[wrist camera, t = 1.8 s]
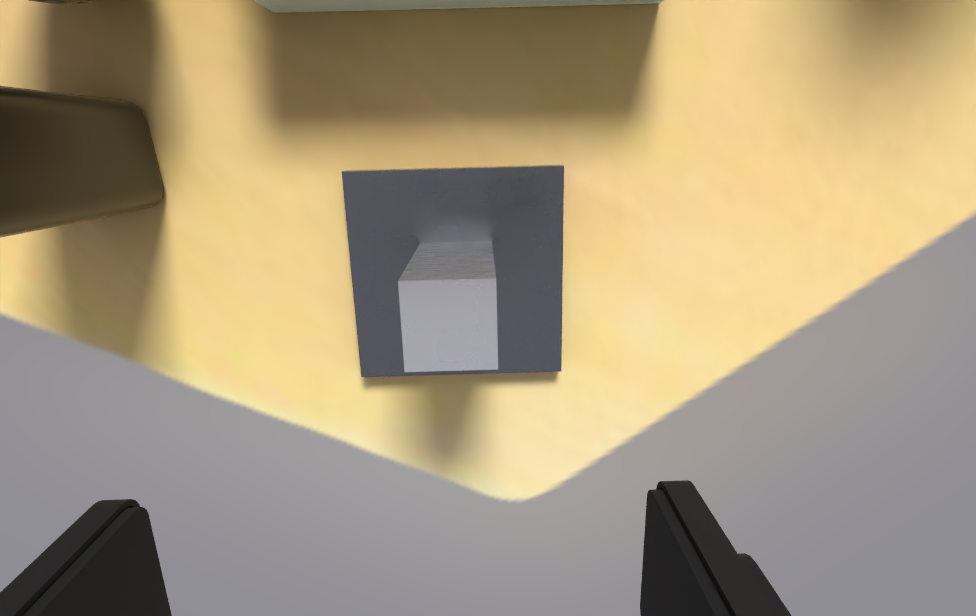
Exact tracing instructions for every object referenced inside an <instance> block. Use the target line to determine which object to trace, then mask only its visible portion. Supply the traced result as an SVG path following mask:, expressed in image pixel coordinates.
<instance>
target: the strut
mask: <svg viewBox="0 0 976 616" xmlns="http://www.w3.org/2000/svg"><path fill="white" fill-rule="evenodd" d="M398 289H399V303H400V316H401V330H402V344H403V358H404V372H428V371H463V370H498V337H497V289H496V272H495V264H494V256H493V248H492V241H476V242H439V243H420V244H419V246H418V248H417V250H416V251H415V253H414V255H413V256H412V258H411V260H410V261H409V263H408V265H407V267H406V268H405V270H404V272H403V273H402V275H401V277H400V278H399V280H398Z"/></svg>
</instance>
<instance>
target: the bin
mask: <svg viewBox="0 0 976 616" xmlns="http://www.w3.org/2000/svg"><path fill="white" fill-rule="evenodd" d="M253 1H255V2H256V3H258V4H260V5H261V6H263V7H264V8H266V9H268V10H269V11H271V12H272V13H285V12H327V11H368V10H409V9H451V8H492V7H533V6H575V5H616V4H657V3H661V2H662V1H663V0H253Z"/></svg>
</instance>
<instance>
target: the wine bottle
mask: <svg viewBox="0 0 976 616" xmlns="http://www.w3.org/2000/svg"><path fill="white" fill-rule="evenodd" d="M162 196H163V185H162V181H161V177H160V173H159V168H158V164H157V160H156V156H155V152H154V148H153V144H152V139H151V135H150V131H149V127H148V123H147V120H146V118H145V116H144V114H143V112H142V110H141V109H139V108H138V107H137V106H135V105H134V104H133V103H131V102H127V101H122V100H115V99H106V98H98V97H89V96H81V95H72V94H64V93H55V92H47V91H38V90H30V89H21V88H13V87H4V86H0V237H5V236H10V235H16V234H21V233H26V232H31V231H36V230H41V229H46V228H51V227H56V226H61V225H66V224H71V223H76V222H81V221H86V220H91V219H96V218H101V217H106V216H111V215H116V214H121V213H126V212H132V211H137V210H142V209H147V208H149V207H152V206H154V205H157V204H158V202H159V201H160V199H161V198H162Z"/></svg>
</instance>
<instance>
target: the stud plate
mask: <svg viewBox="0 0 976 616" xmlns="http://www.w3.org/2000/svg"><path fill="white" fill-rule="evenodd" d="M342 178H343V189H344V199H345V210H346V220H347V231H348V241H349V251H350V262H351V272H352V283H353V293H354V304H355V314H356V324H357V335H358V345H359V356H360V366H361V376H362V377H377V376H412V375H446V374H481V373H516V372H551V371H561V346H562V269H563V193H564V166H563V165H543V166H504V167H466V168H428V169H390V170H351V171H342ZM476 241H492V248H493V256H494V264H495V272H496V289H497V337H498V370H463V371H428V372H404V358H403V344H402V330H401V316H400V303H399V289H398V280H399V278H400V277H401V275H402V273H403V272H404V270H405V268H406V267H407V265H408V263H409V261H410V260H411V258H412V256H413V255H414V253H415V251H416V250H417V248H418V246H419V244H420V243H439V242H476Z"/></svg>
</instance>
